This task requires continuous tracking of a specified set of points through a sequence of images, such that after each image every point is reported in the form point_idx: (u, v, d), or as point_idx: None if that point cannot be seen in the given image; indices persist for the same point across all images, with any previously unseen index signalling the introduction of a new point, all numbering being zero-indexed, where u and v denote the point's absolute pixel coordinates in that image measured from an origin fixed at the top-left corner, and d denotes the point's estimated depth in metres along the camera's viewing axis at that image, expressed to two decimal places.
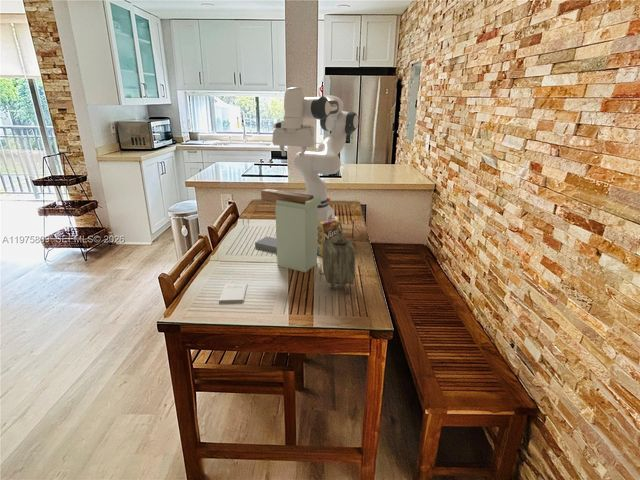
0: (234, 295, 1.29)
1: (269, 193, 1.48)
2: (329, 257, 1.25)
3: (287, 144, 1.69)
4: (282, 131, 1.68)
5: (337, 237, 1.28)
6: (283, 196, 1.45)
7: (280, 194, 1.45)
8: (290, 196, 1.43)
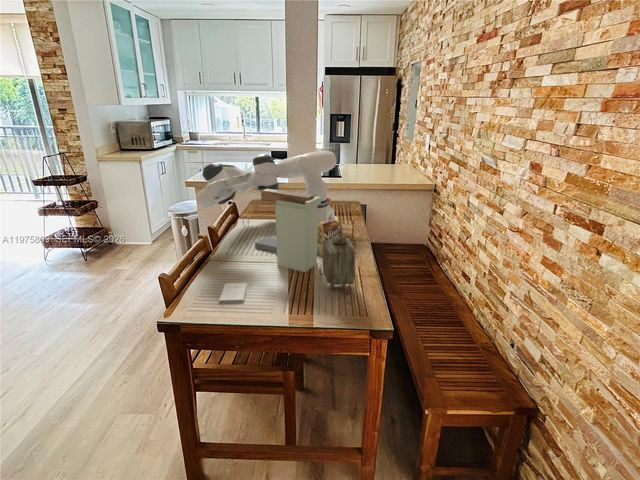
0: (234, 295, 1.28)
1: (269, 193, 1.48)
2: (329, 257, 1.25)
3: None
4: None
5: (337, 237, 1.28)
6: (283, 196, 1.45)
7: (280, 194, 1.45)
8: (290, 196, 1.43)
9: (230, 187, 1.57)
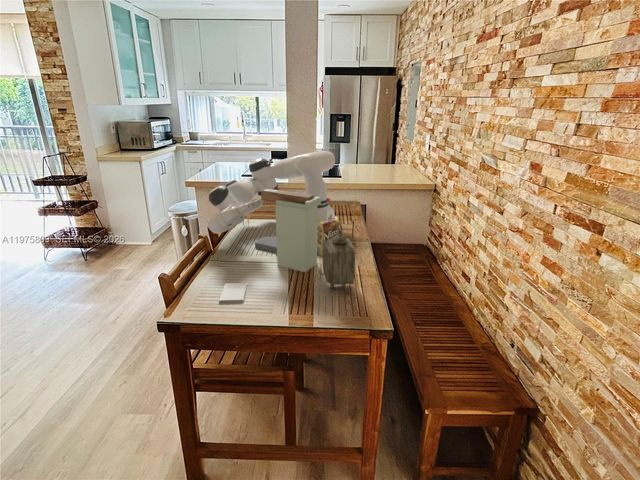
0: (234, 295, 1.28)
1: (269, 193, 1.48)
2: (329, 257, 1.25)
3: (242, 205, 1.56)
4: (229, 209, 1.57)
5: (337, 237, 1.28)
6: (283, 196, 1.45)
7: (280, 194, 1.45)
8: (290, 196, 1.43)
9: (242, 214, 1.57)
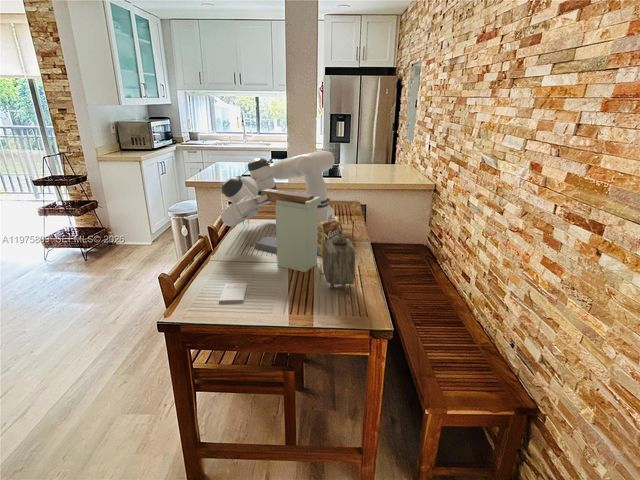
0: (234, 295, 1.28)
1: (269, 193, 1.48)
2: (329, 257, 1.25)
3: (258, 196, 1.51)
4: (244, 201, 1.52)
5: (337, 237, 1.28)
6: (283, 196, 1.45)
7: (280, 194, 1.45)
8: (290, 196, 1.43)
9: (258, 206, 1.52)
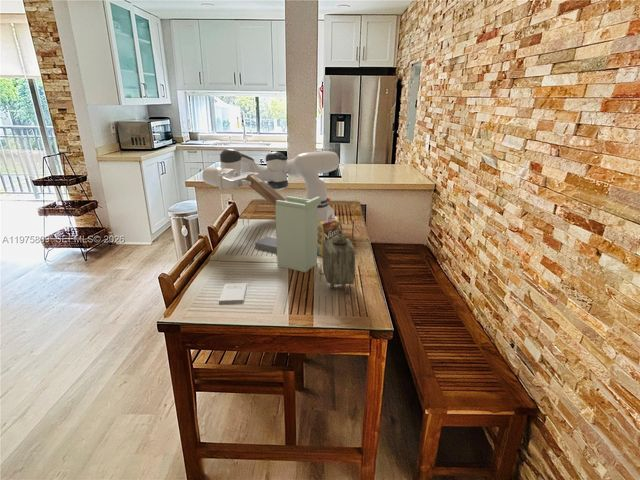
0: (234, 296, 1.28)
1: (254, 181, 1.63)
2: (329, 257, 1.25)
3: (243, 177, 1.65)
4: (229, 175, 1.65)
5: (337, 237, 1.28)
6: (264, 190, 1.61)
7: (263, 188, 1.61)
8: (270, 194, 1.61)
9: None
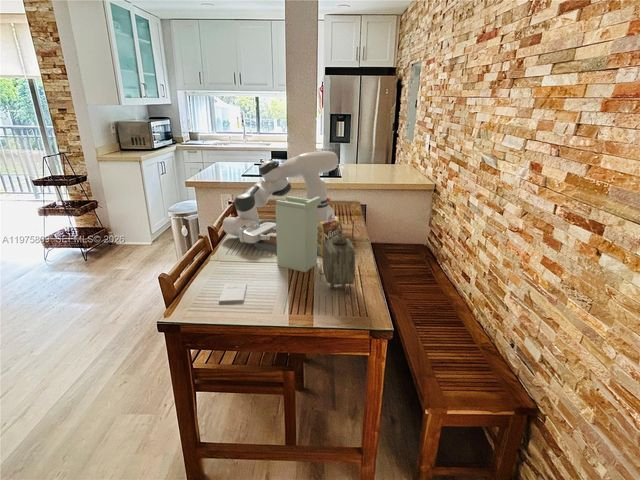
0: (234, 296, 1.28)
1: (271, 237, 1.68)
2: (329, 257, 1.25)
3: (263, 230, 1.69)
4: (250, 228, 1.70)
5: (337, 237, 1.28)
6: None
7: None
8: None
9: None
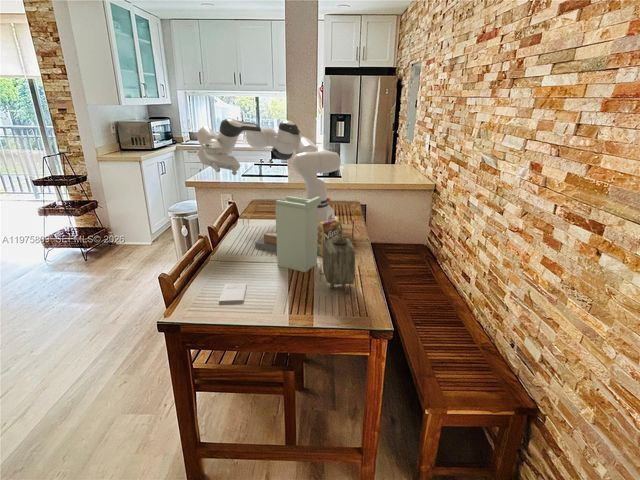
0: (233, 296, 1.28)
1: (271, 237, 1.68)
2: (329, 257, 1.25)
3: (221, 161, 1.73)
4: (212, 151, 1.73)
5: (337, 237, 1.28)
6: None
7: None
8: None
9: (215, 164, 1.75)
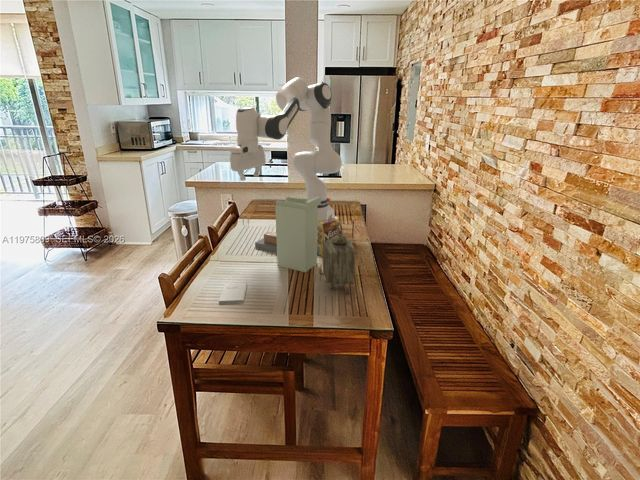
0: (233, 296, 1.28)
1: (271, 237, 1.68)
2: (329, 257, 1.25)
3: (249, 167, 1.62)
4: (246, 155, 1.57)
5: (337, 237, 1.28)
6: None
7: None
8: None
9: None
